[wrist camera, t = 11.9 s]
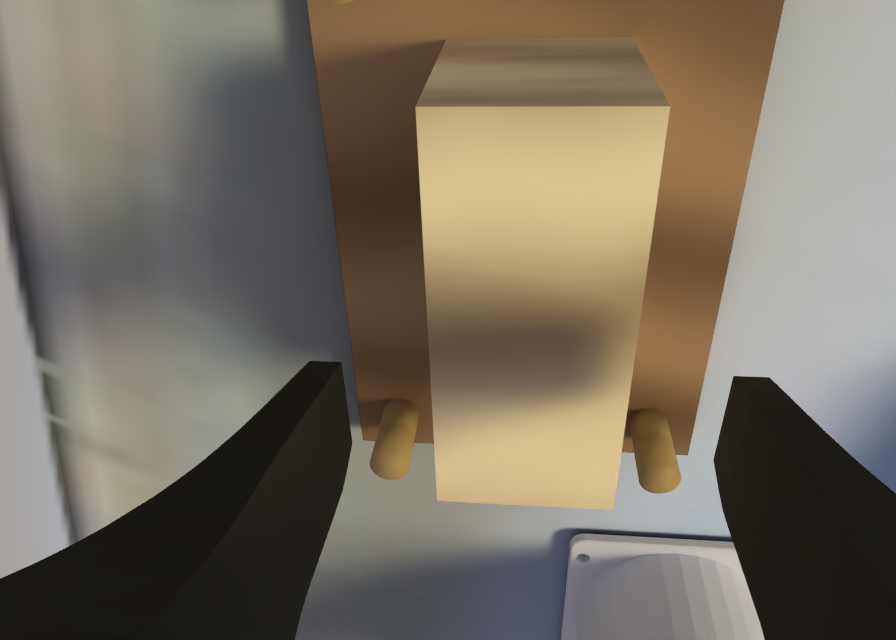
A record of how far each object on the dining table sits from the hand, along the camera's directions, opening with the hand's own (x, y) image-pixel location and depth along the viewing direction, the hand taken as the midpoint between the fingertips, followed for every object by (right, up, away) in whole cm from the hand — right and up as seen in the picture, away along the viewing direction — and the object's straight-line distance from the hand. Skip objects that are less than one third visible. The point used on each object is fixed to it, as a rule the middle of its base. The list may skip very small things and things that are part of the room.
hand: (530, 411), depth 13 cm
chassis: (+1, +5, +7) cm, 9 cm away
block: (+1, +4, +6) cm, 8 cm away
